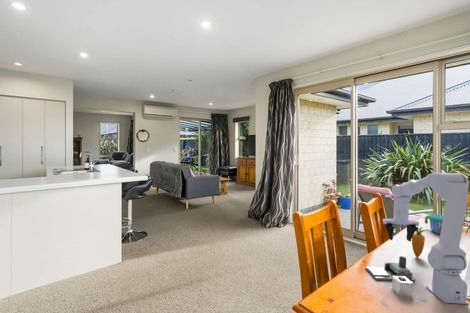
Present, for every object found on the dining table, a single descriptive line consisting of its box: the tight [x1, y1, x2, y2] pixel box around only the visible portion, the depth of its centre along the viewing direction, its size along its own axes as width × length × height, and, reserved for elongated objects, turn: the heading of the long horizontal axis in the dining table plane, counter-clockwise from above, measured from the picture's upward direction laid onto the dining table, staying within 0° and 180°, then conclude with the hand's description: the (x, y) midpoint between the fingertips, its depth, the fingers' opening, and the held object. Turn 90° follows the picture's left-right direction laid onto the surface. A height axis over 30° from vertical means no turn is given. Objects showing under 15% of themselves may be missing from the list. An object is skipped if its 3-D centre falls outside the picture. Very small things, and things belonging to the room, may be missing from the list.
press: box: [364, 261, 416, 283], centre depth 103 cm, size 9×15×3 cm, turn 87°
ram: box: [389, 255, 411, 272], centre depth 102 cm, size 6×5×6 cm
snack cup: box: [424, 213, 444, 235], centre depth 154 cm, size 16×10×10 cm
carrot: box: [411, 226, 426, 258], centre depth 119 cm, size 5×5×15 cm
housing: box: [391, 276, 414, 297], centre depth 91 cm, size 4×4×5 cm
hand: (399, 239), depth 115 cm, fingers open, 7 cm apart
